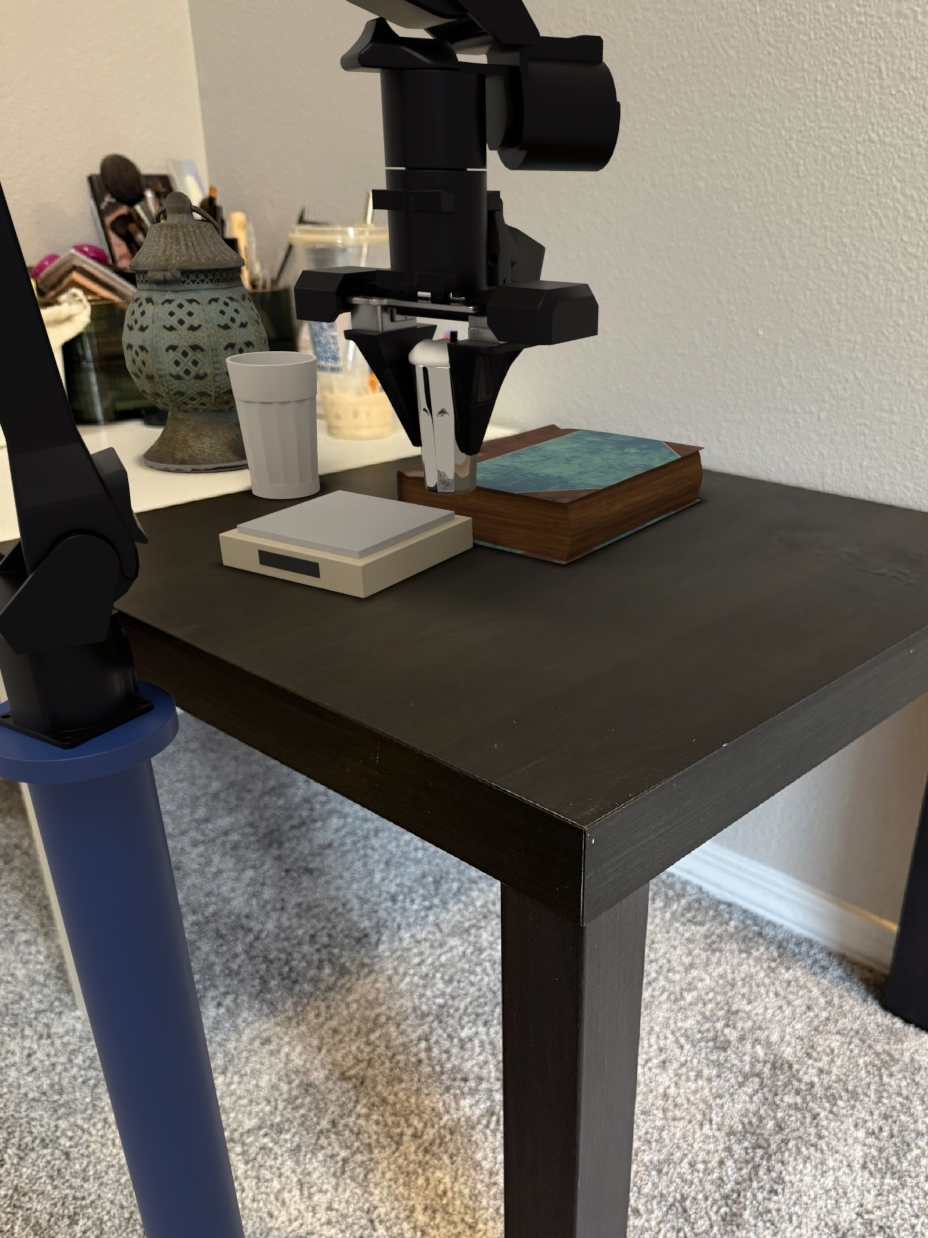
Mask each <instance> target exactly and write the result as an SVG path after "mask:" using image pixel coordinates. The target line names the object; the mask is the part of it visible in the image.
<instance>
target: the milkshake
mask: <svg viewBox="0 0 928 1238" xmlns="http://www.w3.org/2000/svg"><path fill="white" fill-rule="evenodd" d="M458 334H459V332H458V330H450V331H449V337H442V338H438V339H425V340H423V341H421V342H419V343H418V344H417V345H416V346H415V347H414V348H413V349H412V350H411V352H410V354H409V364H410V371H411V378H412V385H413V392H414V399H415V405H416V412H417V420H418V429H419V438H420V447H419V448H420V454H421V455H420V456H421V463H422V464H423V473H424V482H425V487H426V489H427V491H428V492H431V493H435V494H438V495H460V494H467V493H470V492H471V491H473V490H475V489H476V477H477V457H478V454H475V455H472V456H467V455H465V453H464V449H463V445H462V441H461V437H460V433H459V427H458V420H457V413H456V406H455V399H454V392H453V385H452V378H451V371H450V364H449V357H448V350H447V343H449V342H454V341H459V340H460V339H458V337H459V336H458Z"/></svg>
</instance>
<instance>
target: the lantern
mask: <svg viewBox="0 0 928 1238" xmlns="http://www.w3.org/2000/svg"><path fill="white" fill-rule="evenodd" d="M165 213H166V214H167V215H166V220H165V221H161V218H162V215H164V214H165ZM193 213H195V214H197V215H199V216H200V217H201V218H203V219H205V220H206V221H203V220H196V218H195V216H194V214H193ZM153 220H154V223H152V224H150V225H149V226H148V230H147V233H146V236H145V239H144V241H143V243H142V246H141V247H140V248H139V250H138V251H137V253H136V254H135V255H134V256H133V258H132V259H131V260H130V262H129V263H128V270H129V271H130V272H134V275H135V281H136V288H137V289H136V291H135V293H134V295H133V297H132V299H131V301H130V303H129V304H128V306H127V308H126V311H125V316H124V322H123V330H122V337H121V343H122V349H123V354H124V359H125V360H124V361H125V365H126V369H127V371H128V373H129V374H130V377H131V378H132V380H133V382H134V384H135V386H136V387H137V389H138V391H139V393H140V394H142V395H143V396H144V397H145V398H146V399H148V401H150V402H151V403H152V404H154V406H156V407H157V408H158V409H159V410H162V411H163V410H165V411H168V413H167V418H166V422H165V425H164V427H163V429H162V431H161V432H160V435H159V436H158V437H157V439H156V440H155V441H154V443H152V445H151V446H150V447H148V448H147V450H145V452H144V453H143V455H142V459H143V462H144V464H145V466H147V467H150V468H151V469H152V468H153V469H155V470H160V471H165V472H171V473H189V474H190V473H195V474H196V473H217V472H227V471H235V470H242V469H247V468H249V466H248V461H247V456H246V452H245V447H244V442H243V437H242V432H241V427H240V422H239V417H238V412H237V407H236V402H235V397H234V395H233V390H232V386H231V381H230V376H229V372H228V367H227V363H226V359H227V358H228V357H231V356H234V355H238V354H245V353H253V352H270V347H269V340H268V333H267V331H266V329H265V326H264V323H263V321H262V318H261V315H260V312H259V310H258V309H257V307H256V305H255V303H254V301H253V299H252V298H251V295H250V294H249V292H248V290H247V289H246V287H245V285H244V283H243V280H242V276H241V274H240V270H239V268H242V267H245V266H246V260H245V259H244V257H242V256H241V255H240V254H239V253H237V252H236V251H235V250H234V249H232V248H231V247H230V246H229V245H228V244H227V243H226V242H225V241H224V239H223V237H221V236H222V230H221V228H220V225H219V223H218V222H217V221H216V220H215V219H214V218H213V217H212V216H211V215H210V214H209V213H208V212H207V211H206V210H204V209H203V208H202V207H200V206H198V205H194V204H193V202H192V200H191V199H190V198H189V196H188V195H187V194H186V193H184V192H182V191H171V192H170V193H168V194H167V195H166V198H165V200H164V204H163V205H162V206H159V207H158V208H157V210H155V212H154V215H153Z"/></svg>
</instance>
